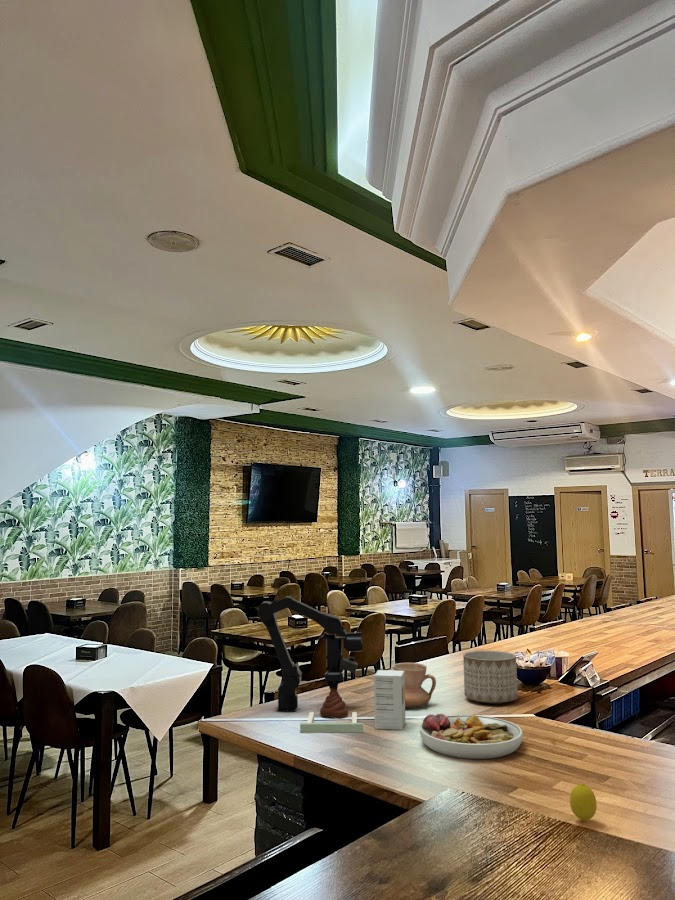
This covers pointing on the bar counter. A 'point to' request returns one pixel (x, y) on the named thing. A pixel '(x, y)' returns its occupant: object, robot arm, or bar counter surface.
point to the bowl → (470, 736)
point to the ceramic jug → (415, 684)
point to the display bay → (330, 726)
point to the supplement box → (389, 699)
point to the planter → (490, 676)
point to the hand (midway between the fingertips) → (334, 696)
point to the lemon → (583, 802)
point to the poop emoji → (334, 706)
